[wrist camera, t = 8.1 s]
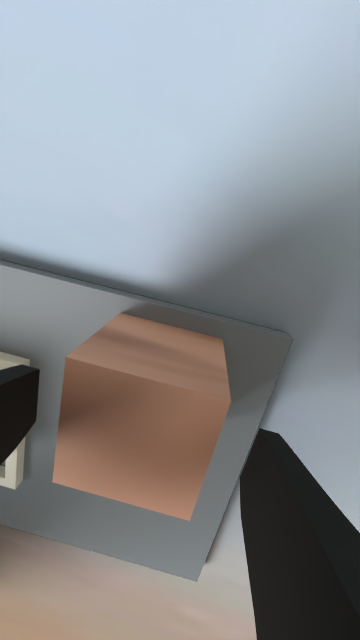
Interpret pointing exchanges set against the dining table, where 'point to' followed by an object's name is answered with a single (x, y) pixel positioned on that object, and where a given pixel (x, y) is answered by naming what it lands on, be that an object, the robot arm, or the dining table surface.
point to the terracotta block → (142, 414)
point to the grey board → (40, 442)
